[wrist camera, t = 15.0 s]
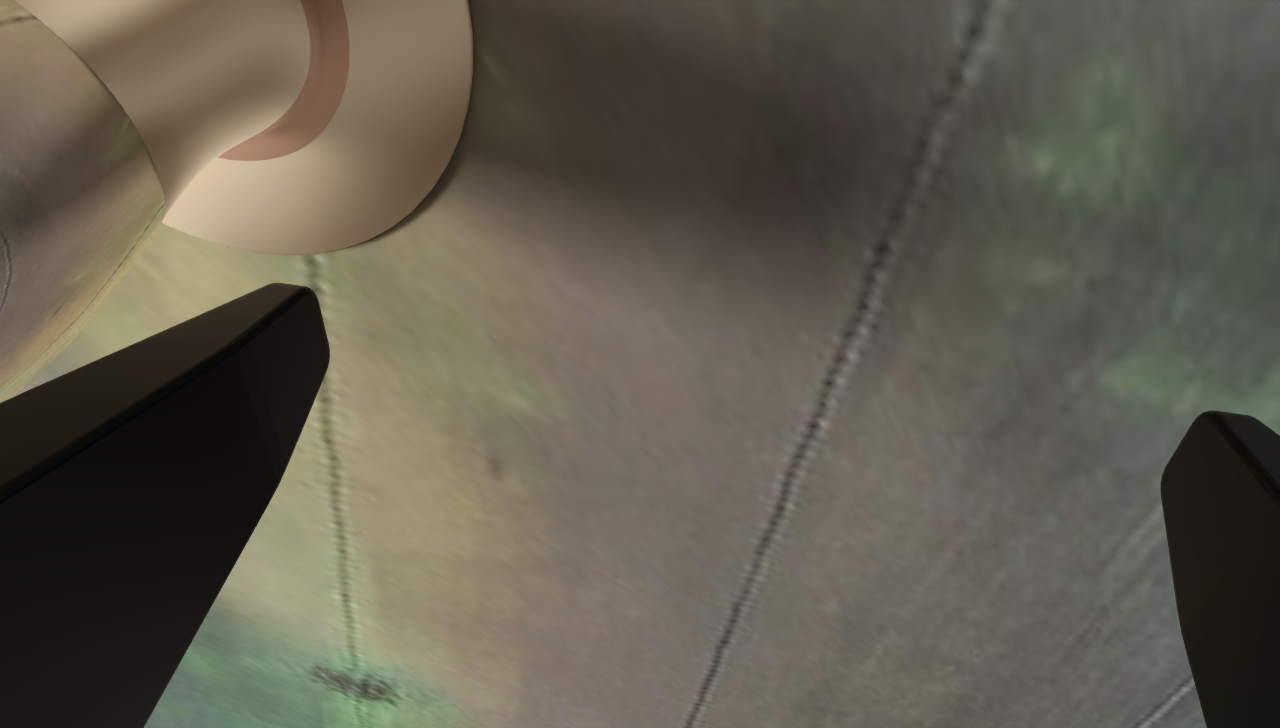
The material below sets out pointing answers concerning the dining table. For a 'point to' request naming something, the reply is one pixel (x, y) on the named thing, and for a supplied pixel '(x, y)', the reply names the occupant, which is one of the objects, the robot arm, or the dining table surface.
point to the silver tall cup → (121, 139)
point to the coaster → (346, 135)
